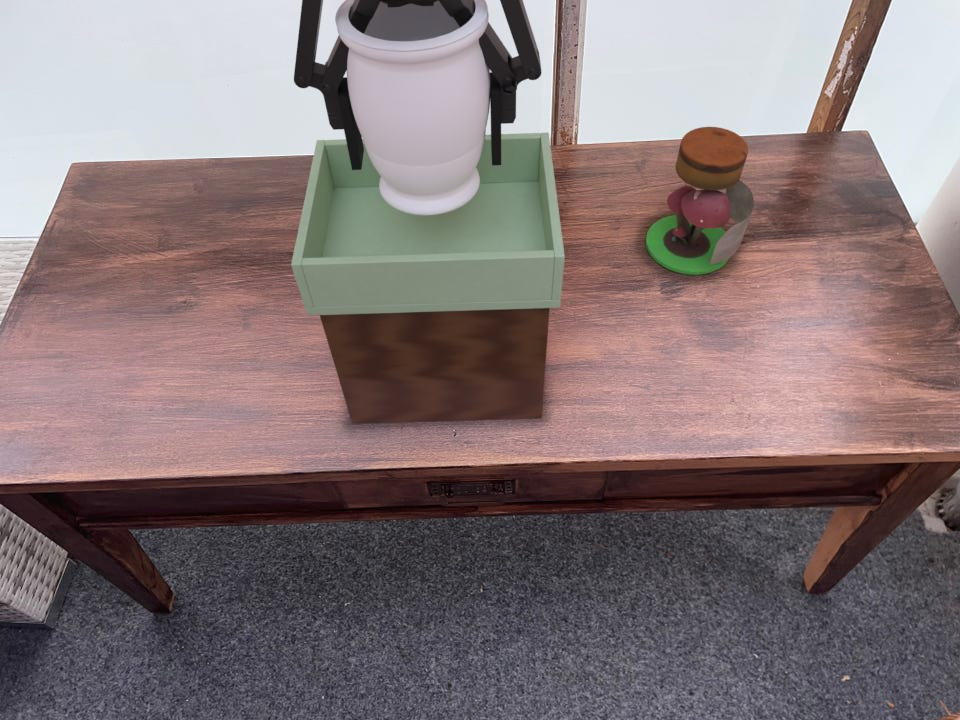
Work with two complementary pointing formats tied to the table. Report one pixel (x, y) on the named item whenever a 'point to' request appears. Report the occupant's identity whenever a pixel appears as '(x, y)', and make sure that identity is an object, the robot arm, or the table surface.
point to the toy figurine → (704, 204)
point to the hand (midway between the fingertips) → (427, 157)
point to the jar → (420, 102)
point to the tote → (431, 238)
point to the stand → (440, 364)
